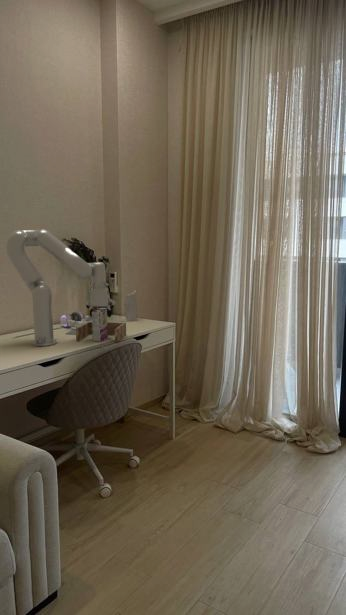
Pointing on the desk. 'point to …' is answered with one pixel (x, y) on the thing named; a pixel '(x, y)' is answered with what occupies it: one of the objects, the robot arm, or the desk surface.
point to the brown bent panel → (113, 329)
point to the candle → (130, 307)
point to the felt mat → (72, 332)
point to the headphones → (74, 319)
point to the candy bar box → (99, 324)
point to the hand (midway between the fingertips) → (100, 317)
